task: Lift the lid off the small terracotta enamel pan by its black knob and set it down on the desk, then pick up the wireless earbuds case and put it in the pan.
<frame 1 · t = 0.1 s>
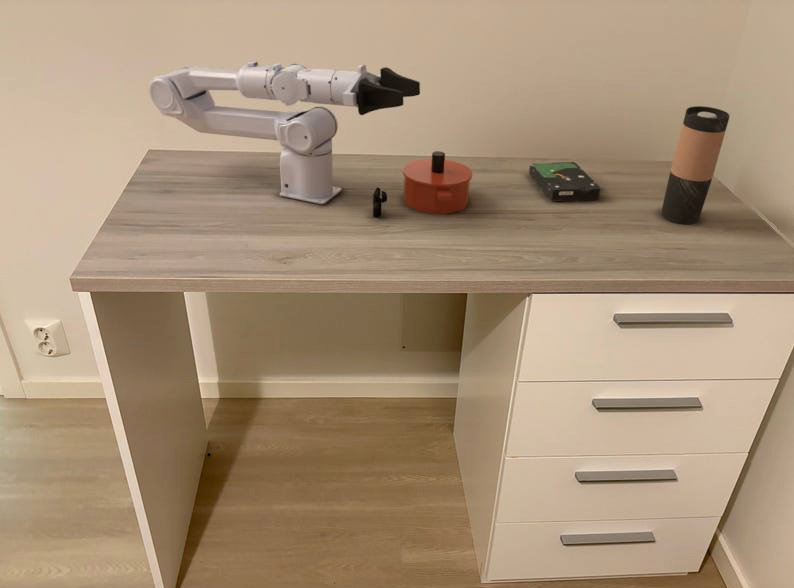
hand: (411, 93, 122), 22 cm above the table, tool horizontal, fingers open, 7 cm apart
lid: (437, 173, 137), point 5 cm above the table, touching pan
disk drive: (562, 188, 149), on the table
travel mug: (679, 217, 140), on the table
pan: (435, 201, 140), on the table
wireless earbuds: (379, 216, 133), on the table
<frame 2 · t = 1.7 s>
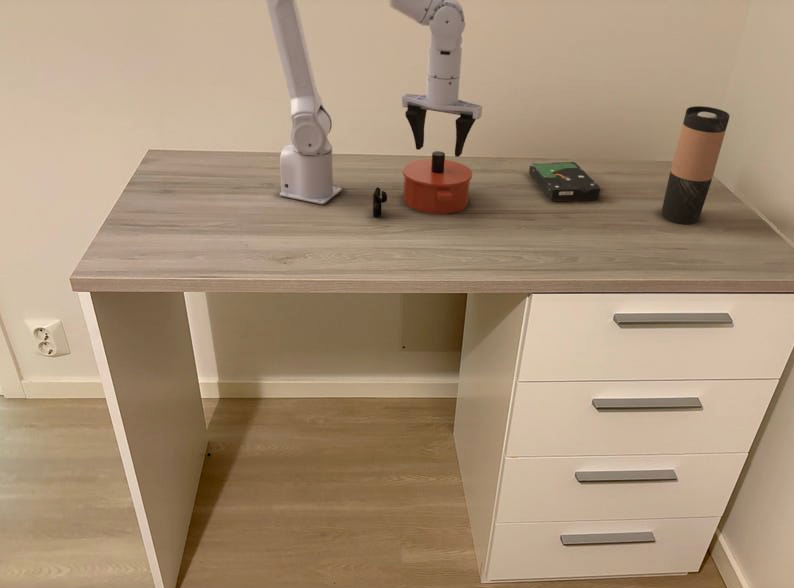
hand: (438, 151, 134), 10 cm above the table, tool pointing down, fingers open, 7 cm apart
nothing on the table moved.
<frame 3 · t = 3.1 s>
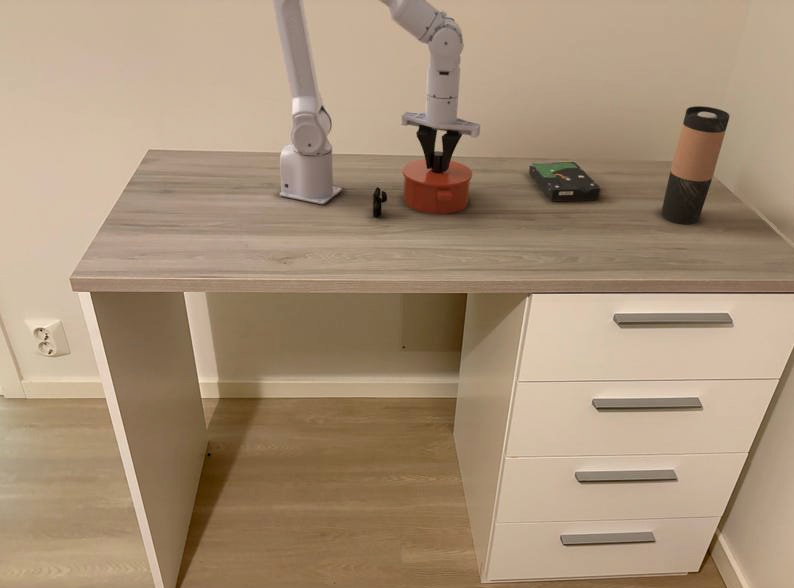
hand: (437, 168, 136), 7 cm above the table, tool pointing down, fingers closed on lid, 2 cm apart
lid: (437, 173, 137), point 5 cm above the table, touching gripper, pan
everything else where it was.
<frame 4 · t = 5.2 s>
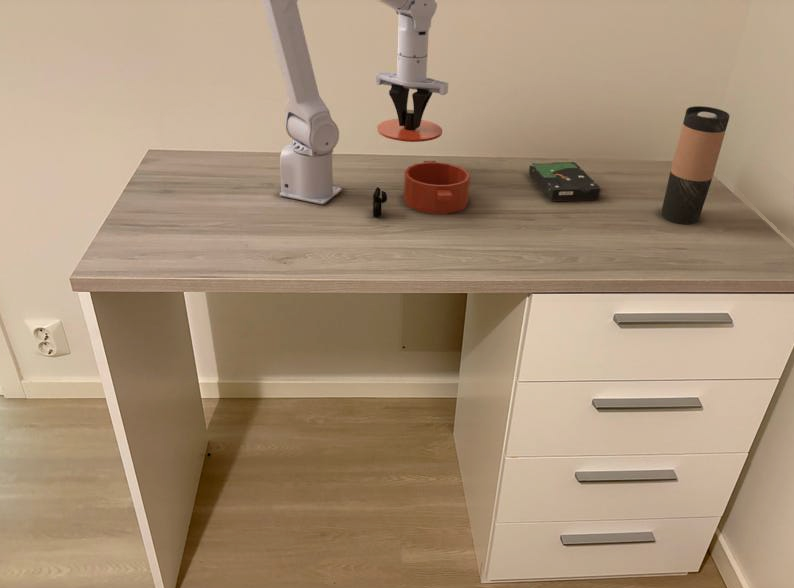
hand: (409, 126, 145), 10 cm above the table, tool pointing down, fingers closed on lid, 2 cm apart
lid: (409, 130, 146), point 9 cm above the table, touching gripper
everything else where it was.
when the fingers open (2 cm above the table, at t = 7.6 s): lid stays where it is, point 1 cm above the table.
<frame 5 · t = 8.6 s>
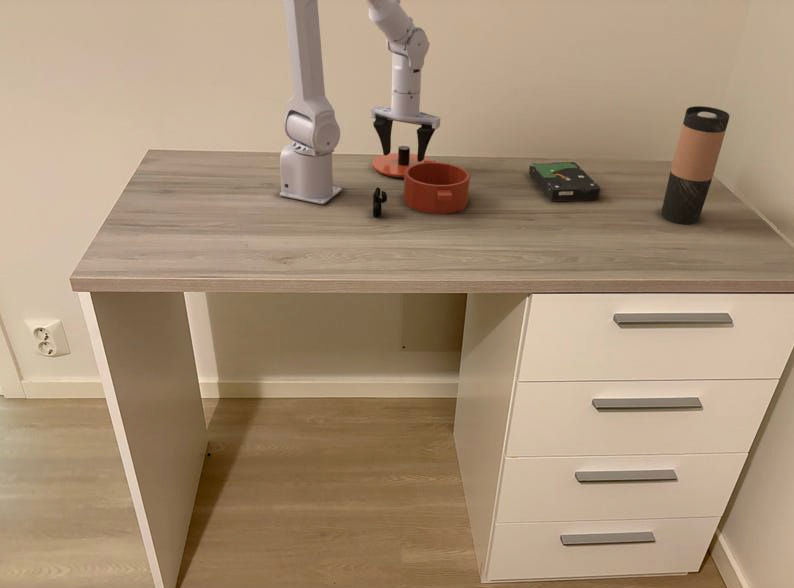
hand: (403, 157, 151), 3 cm above the table, tool pointing down, fingers open, 7 cm apart
lid: (403, 165, 153), point 1 cm above the table
everything else where it was.
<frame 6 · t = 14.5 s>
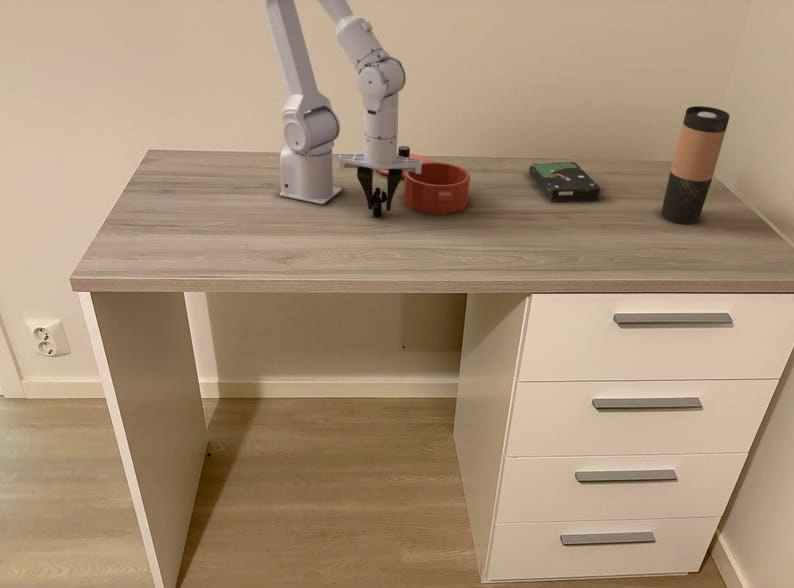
hand: (379, 207, 132), 1 cm above the table, tool pointing down, fingers closed on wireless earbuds, 3 cm apart
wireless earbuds: (379, 216, 133), on the table, touching gripper
everything else where it was.
when the fingers open (2 cm above the table, at t = 18.6 s): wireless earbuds stays where it is, resting on pan.
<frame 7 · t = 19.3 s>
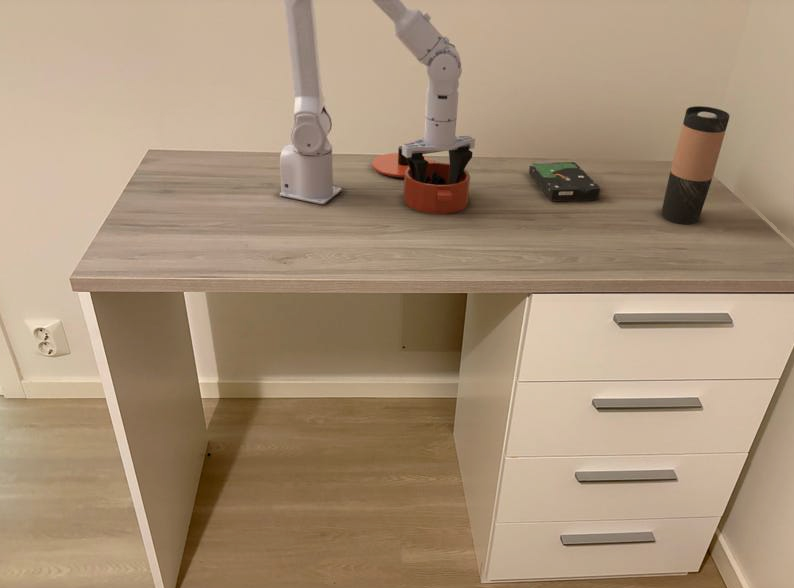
hand: (436, 188, 138), 2 cm above the table, tool pointing down, fingers open, 7 cm apart
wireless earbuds: (436, 199, 140), resting on pan
everything else where it was.
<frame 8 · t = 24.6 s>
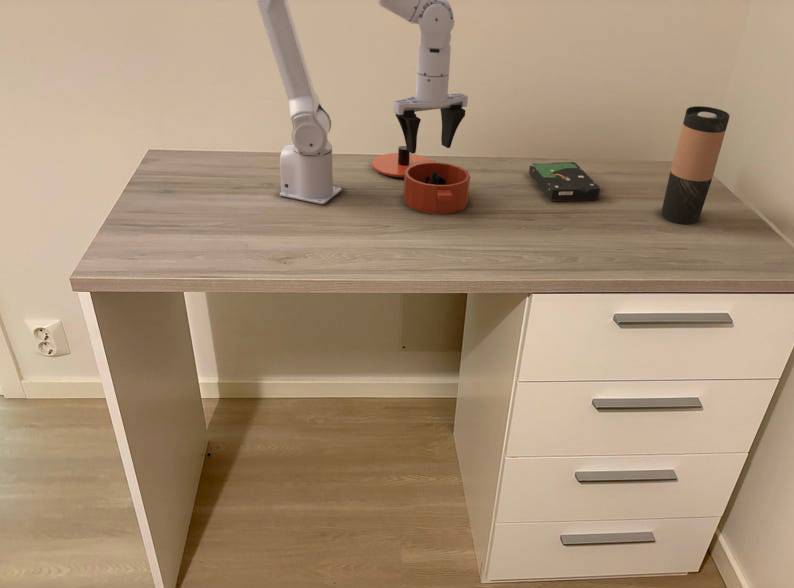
hand: (428, 149, 135), 10 cm above the table, tool pointing down, fingers open, 7 cm apart
nothing on the table moved.
at the end: lid inside the target area (0.0 cm from its centre), point 0.6 cm above the table; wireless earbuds inside the target area in the pan (0.1 cm from its centre), point 0.3 cm above the pan's base; the gripper is holding nothing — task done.
